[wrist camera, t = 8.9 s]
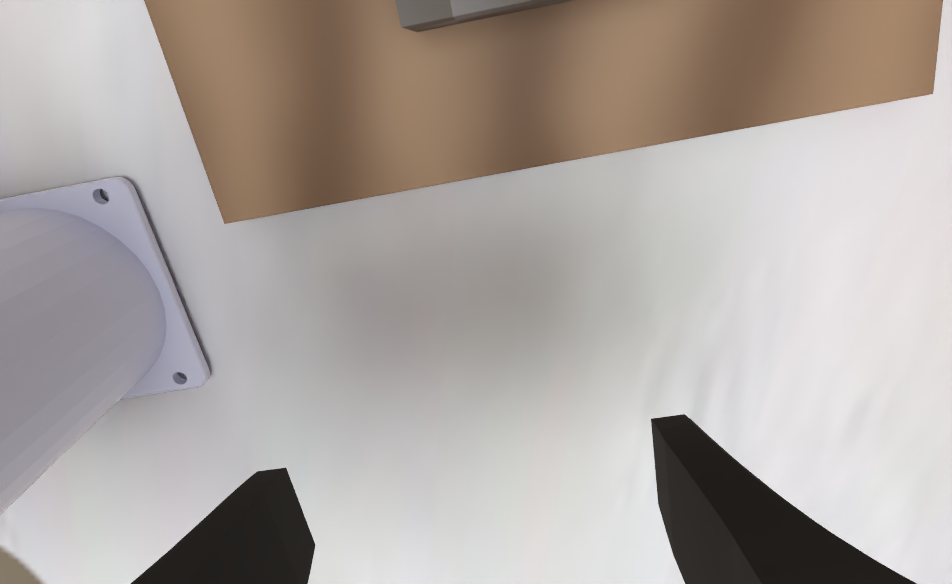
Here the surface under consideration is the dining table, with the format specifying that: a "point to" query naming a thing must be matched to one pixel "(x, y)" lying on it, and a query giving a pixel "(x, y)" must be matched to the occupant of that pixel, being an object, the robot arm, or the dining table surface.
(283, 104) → the stand base
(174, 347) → the robot arm
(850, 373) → the dining table surface
